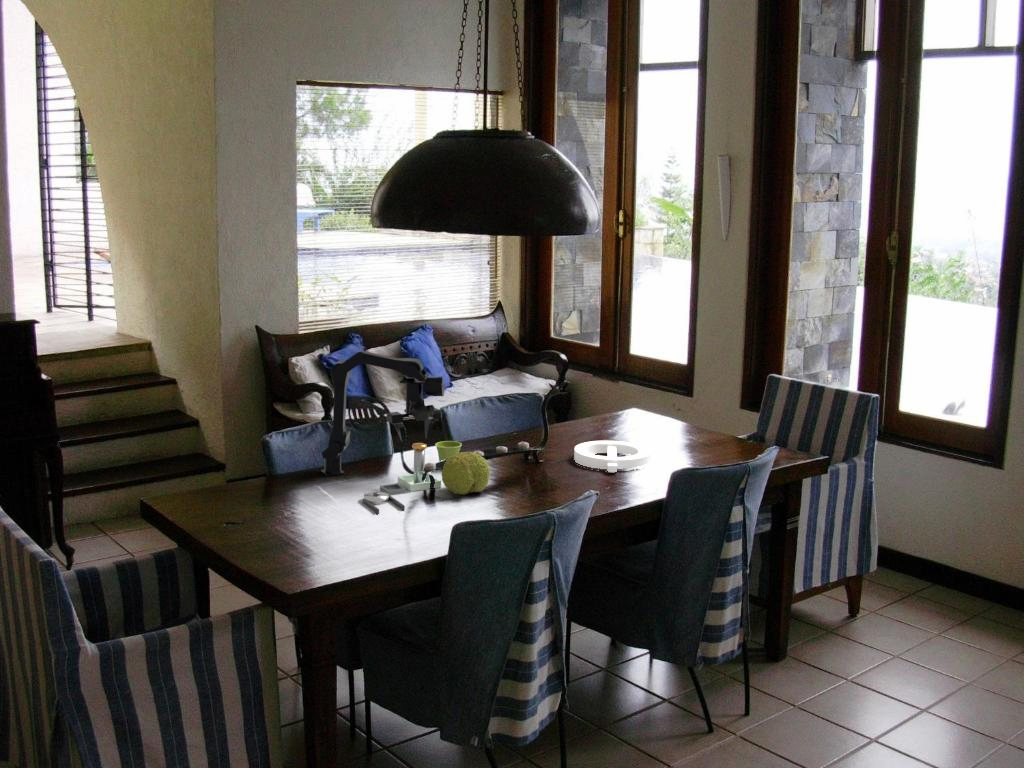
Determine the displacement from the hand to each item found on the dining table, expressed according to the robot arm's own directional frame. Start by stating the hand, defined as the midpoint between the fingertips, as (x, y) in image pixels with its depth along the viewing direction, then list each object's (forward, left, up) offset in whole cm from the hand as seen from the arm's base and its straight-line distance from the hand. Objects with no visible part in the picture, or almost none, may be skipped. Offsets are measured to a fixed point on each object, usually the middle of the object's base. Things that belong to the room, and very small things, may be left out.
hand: (414, 439), depth 390 cm
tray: (+12, -4, -13) cm, 18 cm away
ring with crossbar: (+11, +75, -14) cm, 77 cm away
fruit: (+24, +8, -14) cm, 29 cm away
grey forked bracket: (+26, -23, -13) cm, 37 cm away
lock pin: (+12, -4, -13) cm, 18 cm away
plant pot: (-6, +16, -14) cm, 22 cm away
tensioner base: (+14, -14, -13) cm, 24 cm away
